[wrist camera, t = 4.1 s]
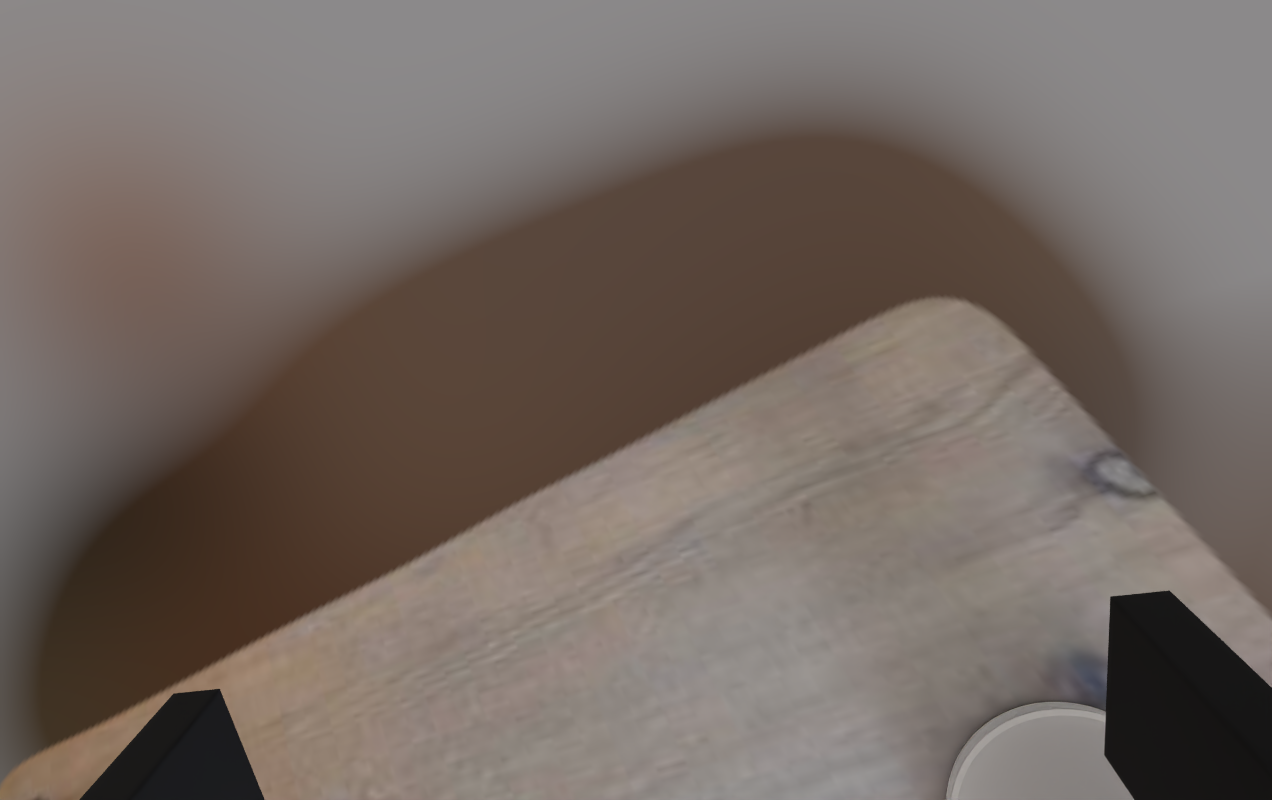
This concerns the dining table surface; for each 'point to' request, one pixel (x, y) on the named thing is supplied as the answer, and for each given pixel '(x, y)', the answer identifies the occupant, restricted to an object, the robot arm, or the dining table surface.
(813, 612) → the dining table surface
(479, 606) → the dining table surface
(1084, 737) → the vase
